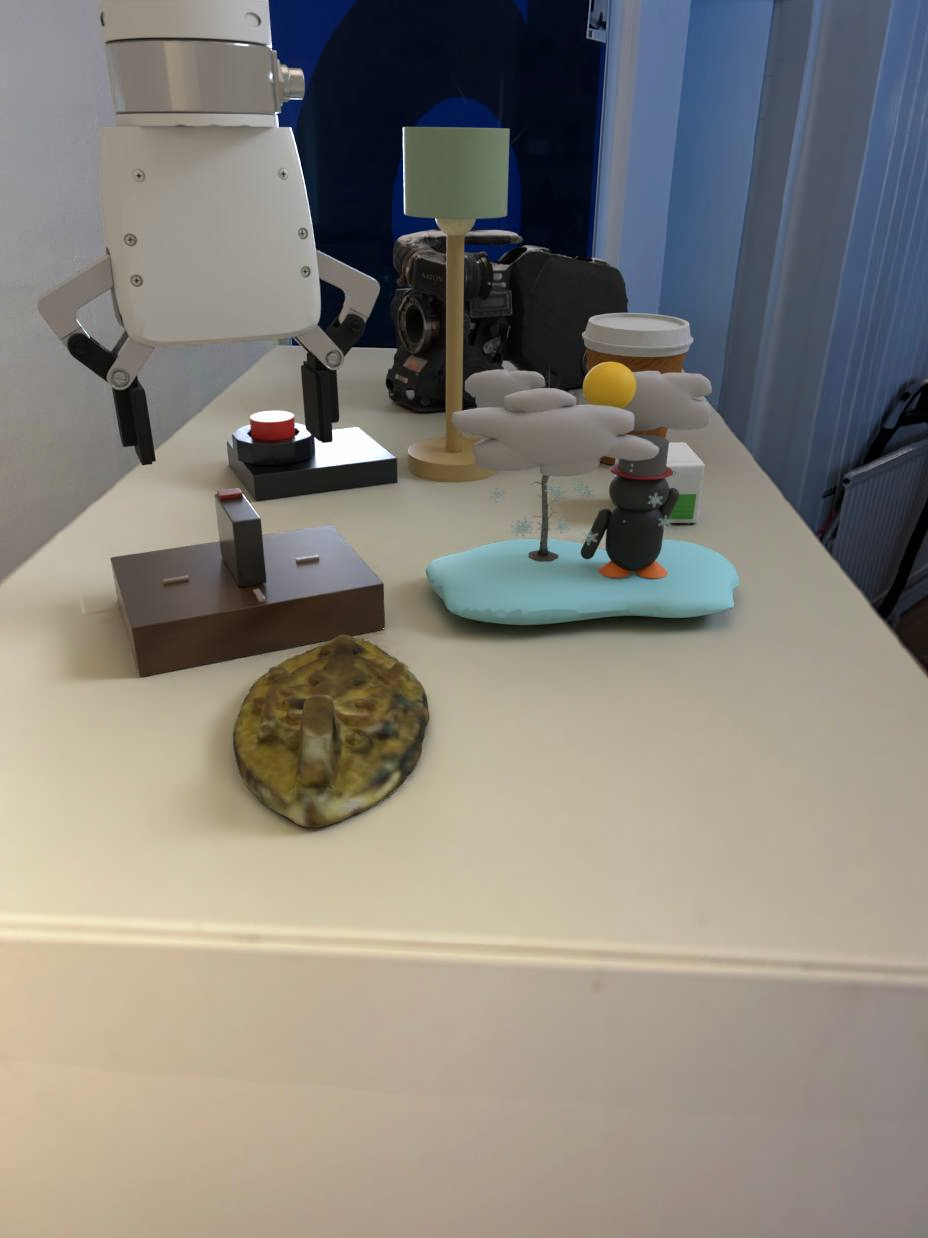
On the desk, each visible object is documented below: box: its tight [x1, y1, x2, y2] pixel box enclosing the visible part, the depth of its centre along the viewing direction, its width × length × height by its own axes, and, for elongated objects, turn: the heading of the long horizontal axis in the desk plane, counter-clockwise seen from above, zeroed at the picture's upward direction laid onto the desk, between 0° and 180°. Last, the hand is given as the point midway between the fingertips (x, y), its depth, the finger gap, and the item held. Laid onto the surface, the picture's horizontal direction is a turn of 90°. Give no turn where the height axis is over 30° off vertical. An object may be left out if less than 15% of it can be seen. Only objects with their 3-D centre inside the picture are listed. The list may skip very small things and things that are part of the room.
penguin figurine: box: [424, 362, 741, 626], centre depth 56 cm, size 20×11×15 cm, turn 93°
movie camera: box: [385, 228, 629, 412], centre depth 101 cm, size 31×18×18 cm, turn 119°
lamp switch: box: [249, 410, 296, 440], centre depth 77 cm, size 4×4×2 cm
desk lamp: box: [402, 126, 511, 483], centre depth 76 cm, size 8×8×26 cm
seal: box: [232, 635, 431, 828], centre depth 45 cm, size 9×5×15 cm
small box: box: [613, 441, 706, 524], centre depth 72 cm, size 6×6×5 cm
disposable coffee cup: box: [582, 312, 694, 466], centre depth 83 cm, size 10×10×12 cm
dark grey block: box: [214, 487, 267, 587], centre depth 54 cm, size 5×2×4 cm, turn 25°
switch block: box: [226, 422, 398, 503], centre depth 79 cm, size 12×10×4 cm
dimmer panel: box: [109, 524, 386, 678], centre depth 56 cm, size 14×10×3 cm
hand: (235, 446), depth 52 cm, fingers open, 9 cm apart
